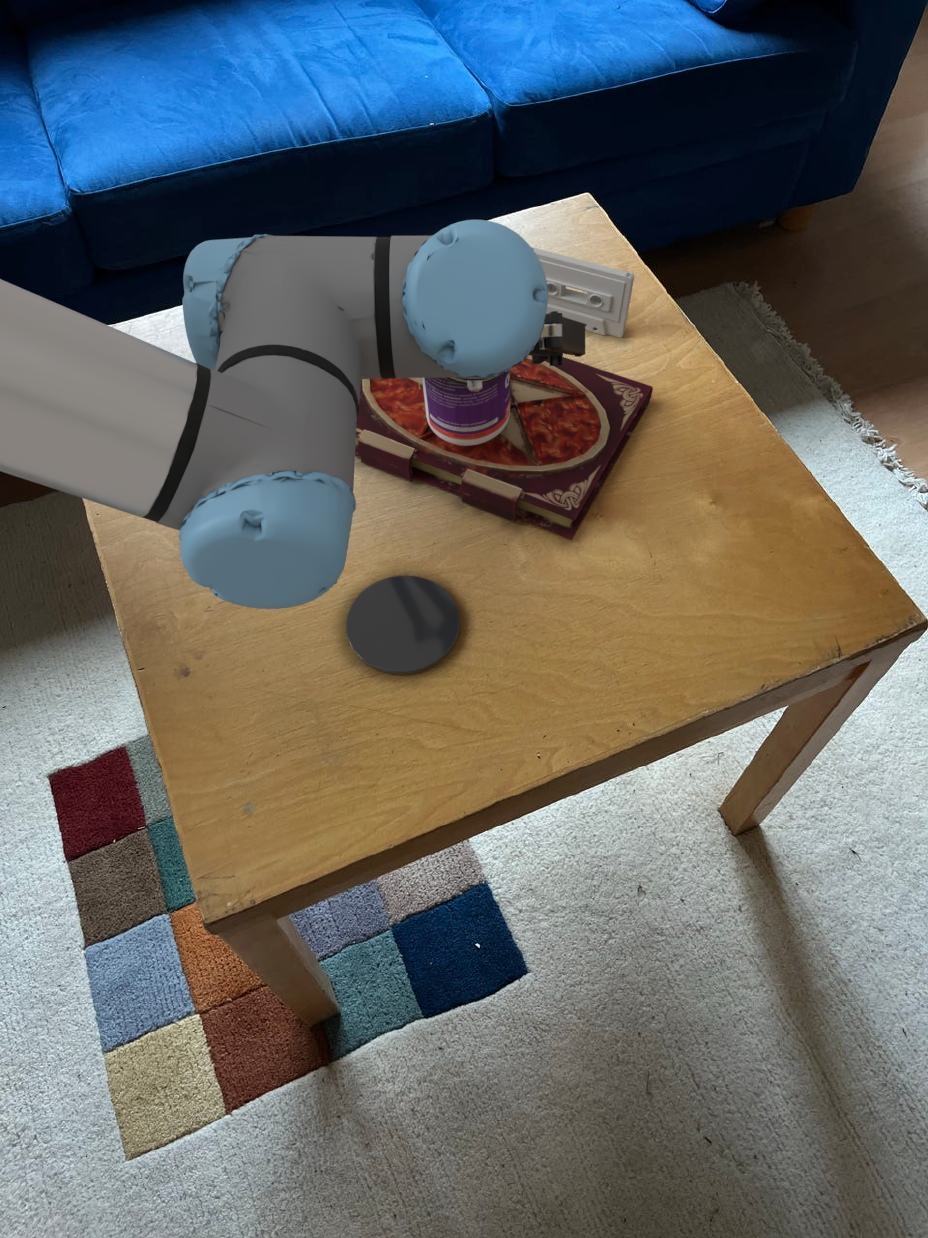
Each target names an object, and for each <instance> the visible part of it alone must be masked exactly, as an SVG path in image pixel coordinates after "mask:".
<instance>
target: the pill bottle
mask: <svg viewBox="0 0 928 1238" xmlns="http://www.w3.org/2000/svg"><path fill="white" fill-rule="evenodd" d="M422 386H423V394H424V402H425V411H426V417H427V421H428V424H429V426H430V427H431V429H432V430H433V432H434V433H435V434H436V435H437V436H439V437H440V438H441V439H443V440H445V441H447V442H449V443H452V444H456V445H461V446H471V445H477V444H481V443H484V442H487V441H489V440H491V439H492V438H494V437H496V436H497V435H498V434H499V433H500V432H501V431H502V430H503V429H504V428H505V426H506V424H507V422H508V420H509V416H510V370H509V371H507V372H505V373H504V374H503V375H501V376H500V377H498V378H497V379H495V380H493V381H491V382H489V383H486V384H482V389H481V390H480V391H478V392H474V391H470V390H469V389H468V386H465V385H459V384H455V383H453V382H450V381H448V380H446V379H444V378H422Z"/></svg>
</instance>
